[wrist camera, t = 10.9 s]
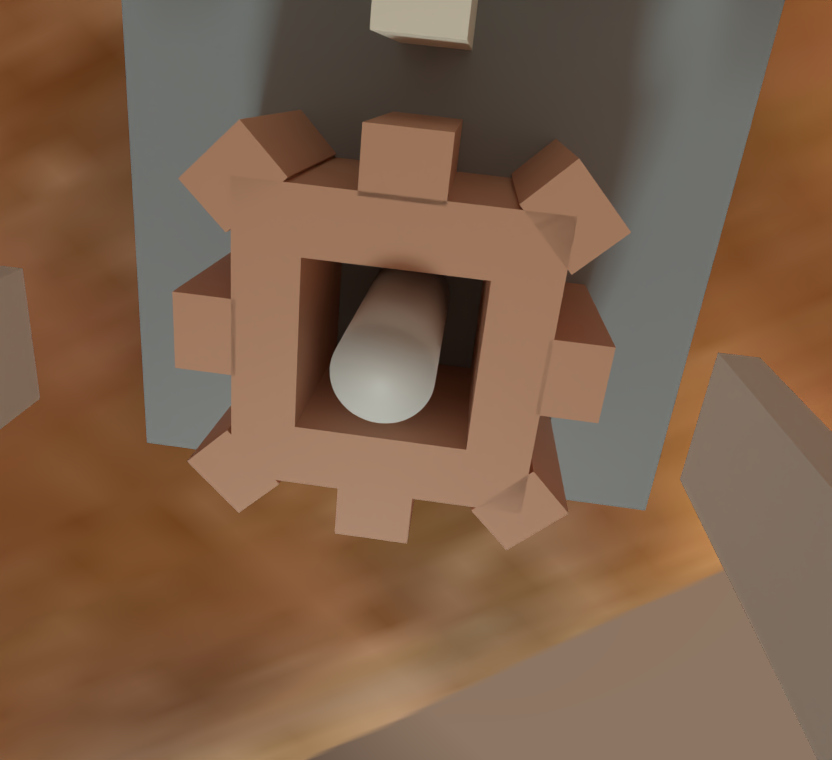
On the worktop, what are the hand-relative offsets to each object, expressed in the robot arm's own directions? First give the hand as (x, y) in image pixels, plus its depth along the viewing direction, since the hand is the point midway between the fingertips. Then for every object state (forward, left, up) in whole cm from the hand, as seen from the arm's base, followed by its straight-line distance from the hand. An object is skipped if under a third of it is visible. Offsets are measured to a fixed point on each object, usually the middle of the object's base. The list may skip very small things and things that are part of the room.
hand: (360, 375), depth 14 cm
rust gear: (0, 0, -7) cm, 7 cm away
